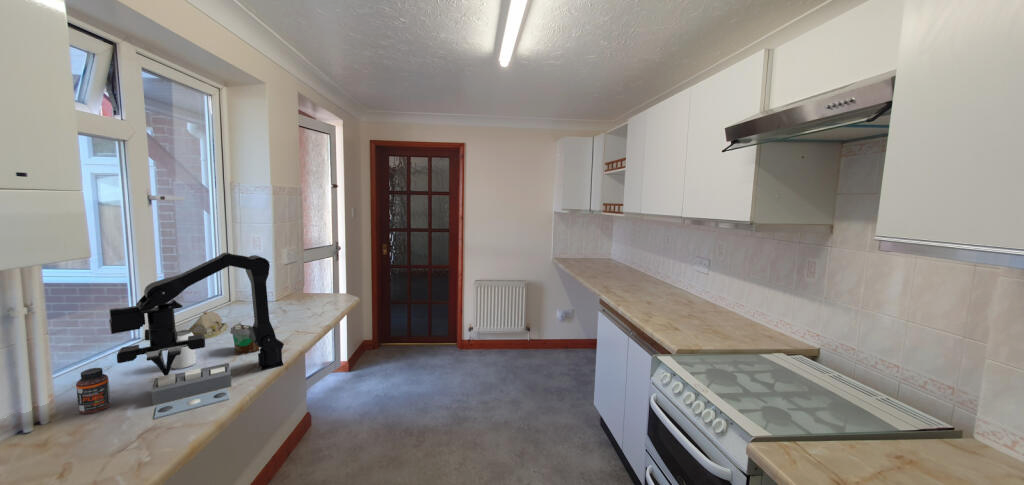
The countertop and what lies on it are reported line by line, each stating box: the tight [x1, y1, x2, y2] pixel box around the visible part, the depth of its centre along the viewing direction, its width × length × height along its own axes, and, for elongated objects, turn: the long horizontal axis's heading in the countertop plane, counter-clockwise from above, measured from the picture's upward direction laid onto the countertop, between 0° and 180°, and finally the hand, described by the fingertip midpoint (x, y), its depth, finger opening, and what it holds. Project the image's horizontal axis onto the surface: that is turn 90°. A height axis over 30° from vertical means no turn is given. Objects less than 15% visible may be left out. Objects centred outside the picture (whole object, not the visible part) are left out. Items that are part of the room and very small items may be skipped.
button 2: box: [211, 367, 225, 375], centre depth 118 cm, size 4×4×2 cm
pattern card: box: [153, 388, 230, 420], centre depth 107 cm, size 16×7×1 cm, turn 130°
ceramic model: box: [188, 310, 228, 340], centre depth 158 cm, size 14×11×10 cm
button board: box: [150, 362, 232, 406], centre depth 114 cm, size 18×10×4 cm, turn 130°
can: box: [171, 329, 197, 370], centre depth 129 cm, size 6×6×12 cm
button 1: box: [157, 373, 176, 387], centre depth 110 cm, size 4×4×2 cm
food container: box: [229, 321, 260, 355], centre depth 141 cm, size 12×6×10 cm, turn 68°
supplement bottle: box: [75, 367, 112, 415], centre depth 102 cm, size 6×6×11 cm
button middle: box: [184, 367, 202, 381], centre depth 114 cm, size 4×4×2 cm
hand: (166, 374), depth 110 cm, fingers closed
